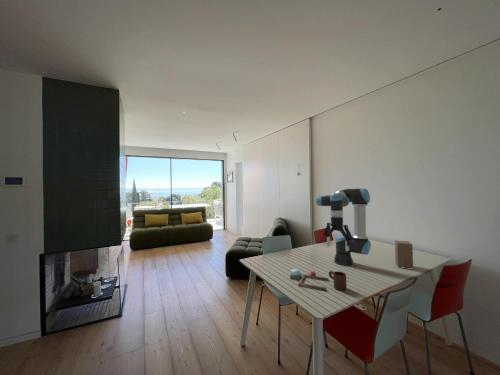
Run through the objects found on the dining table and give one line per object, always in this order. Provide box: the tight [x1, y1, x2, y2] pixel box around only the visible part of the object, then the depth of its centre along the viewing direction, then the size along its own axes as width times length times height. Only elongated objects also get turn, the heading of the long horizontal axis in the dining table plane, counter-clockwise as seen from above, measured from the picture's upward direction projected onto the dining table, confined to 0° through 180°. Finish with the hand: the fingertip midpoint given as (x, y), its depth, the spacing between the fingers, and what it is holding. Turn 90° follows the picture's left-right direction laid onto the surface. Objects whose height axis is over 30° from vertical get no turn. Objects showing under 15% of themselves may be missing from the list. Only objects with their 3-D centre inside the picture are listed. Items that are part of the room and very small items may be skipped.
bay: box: [297, 273, 329, 292], centre depth 139 cm, size 17×18×2 cm
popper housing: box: [289, 272, 303, 281], centre depth 148 cm, size 7×7×2 cm
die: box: [309, 270, 317, 276], centre depth 150 cm, size 4×4×4 cm
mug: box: [328, 270, 347, 292], centre depth 132 cm, size 12×8×9 cm, turn 32°
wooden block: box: [394, 239, 414, 269], centre depth 166 cm, size 10×10×20 cm
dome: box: [291, 268, 301, 276], centre depth 148 cm, size 6×6×3 cm
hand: (337, 248), depth 135 cm, fingers open, 13 cm apart
